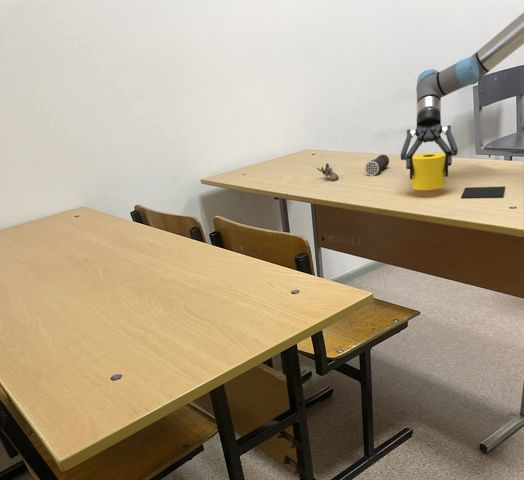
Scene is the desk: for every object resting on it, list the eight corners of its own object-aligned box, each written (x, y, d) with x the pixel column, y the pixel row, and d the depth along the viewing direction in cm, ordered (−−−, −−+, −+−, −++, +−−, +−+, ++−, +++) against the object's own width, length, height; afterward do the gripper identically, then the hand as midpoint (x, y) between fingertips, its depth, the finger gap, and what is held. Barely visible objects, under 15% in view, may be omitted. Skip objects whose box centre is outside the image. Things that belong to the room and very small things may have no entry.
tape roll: (430, 180, 177) (431, 151, 173) (451, 185, 169) (452, 154, 165) (405, 187, 174) (405, 157, 170) (425, 191, 166) (426, 160, 162)
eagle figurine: (312, 177, 212) (322, 176, 204) (319, 159, 211) (328, 158, 203) (328, 184, 215) (338, 184, 207) (334, 167, 214) (345, 166, 206)
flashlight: (377, 167, 219) (377, 153, 217) (390, 167, 217) (390, 153, 214) (365, 175, 208) (364, 161, 205) (378, 175, 205) (378, 161, 203)
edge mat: (505, 187, 168) (505, 186, 168) (503, 197, 159) (503, 196, 159) (465, 188, 173) (465, 187, 173) (460, 198, 164) (461, 197, 164)
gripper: (464, 119, 173) (465, 179, 168) (393, 126, 179) (392, 184, 174) (466, 103, 166) (468, 165, 161) (392, 111, 173) (391, 171, 167)
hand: (428, 175), depth 167 cm, fingers closed on tape roll, 10 cm apart
